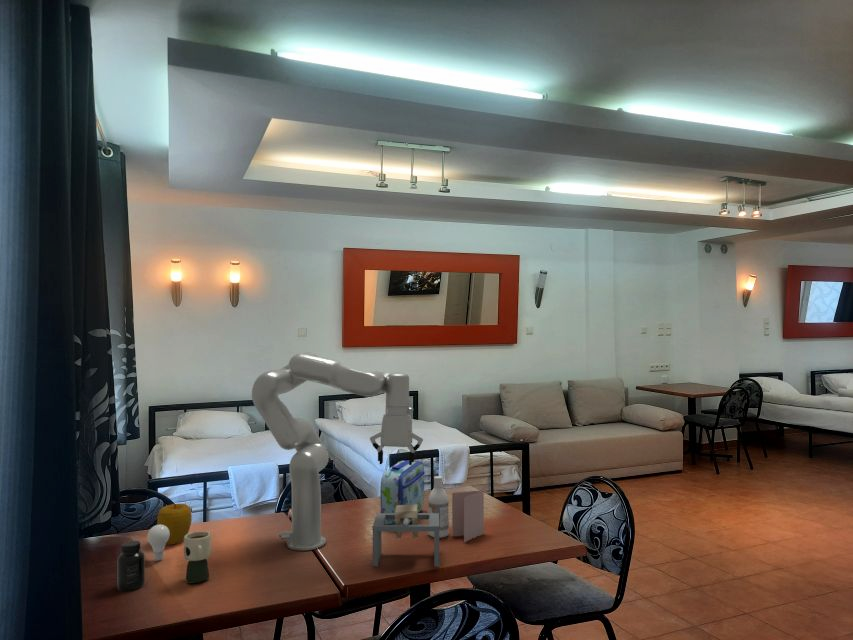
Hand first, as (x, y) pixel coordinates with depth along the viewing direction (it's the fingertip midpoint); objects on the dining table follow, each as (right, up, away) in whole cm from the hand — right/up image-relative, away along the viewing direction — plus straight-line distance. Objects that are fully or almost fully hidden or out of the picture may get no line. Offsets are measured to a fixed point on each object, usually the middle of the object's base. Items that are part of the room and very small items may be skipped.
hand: (395, 463), depth 196 cm
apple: (-75, -28, +7) cm, 80 cm away
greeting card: (+25, -28, +10) cm, 39 cm away
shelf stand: (+4, -27, -8) cm, 29 cm away
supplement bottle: (-72, -28, -28) cm, 82 cm away
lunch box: (+1, -28, +31) cm, 42 cm away
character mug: (-55, -28, -24) cm, 66 cm away
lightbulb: (-73, -28, -9) cm, 79 cm away
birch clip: (+4, -20, -8) cm, 22 cm away
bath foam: (+14, -28, +13) cm, 34 cm away
